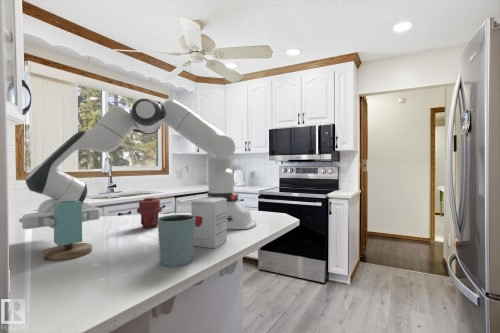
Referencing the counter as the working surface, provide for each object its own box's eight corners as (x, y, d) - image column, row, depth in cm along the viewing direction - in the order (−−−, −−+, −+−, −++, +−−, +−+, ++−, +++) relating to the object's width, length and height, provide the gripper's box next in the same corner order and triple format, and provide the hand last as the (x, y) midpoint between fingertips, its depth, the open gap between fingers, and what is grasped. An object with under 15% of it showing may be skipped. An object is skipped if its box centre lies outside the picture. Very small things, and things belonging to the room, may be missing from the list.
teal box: (77, 237, 85) (76, 200, 85) (82, 241, 81) (81, 201, 81) (53, 241, 81) (53, 202, 81) (58, 246, 77) (57, 204, 77)
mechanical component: (144, 224, 121) (165, 224, 120) (132, 229, 111) (155, 230, 110) (144, 196, 120) (165, 196, 120) (132, 199, 111) (155, 199, 110)
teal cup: (155, 269, 68) (154, 222, 68) (160, 256, 78) (159, 214, 78) (195, 266, 70) (195, 220, 70) (196, 253, 80) (195, 213, 80)
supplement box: (190, 246, 88) (190, 200, 87) (204, 238, 96) (203, 197, 96) (215, 249, 84) (215, 201, 84) (227, 241, 93) (227, 197, 93)
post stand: (100, 249, 85) (100, 222, 85) (65, 262, 74) (65, 231, 74) (71, 246, 88) (70, 220, 88) (33, 258, 77) (32, 229, 77)
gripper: (17, 209, 83) (23, 214, 73) (92, 202, 97) (105, 206, 87) (18, 229, 83) (23, 238, 73) (92, 219, 97) (105, 225, 87)
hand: (68, 220), depth 80 cm, fingers closed on teal box, 6 cm apart
